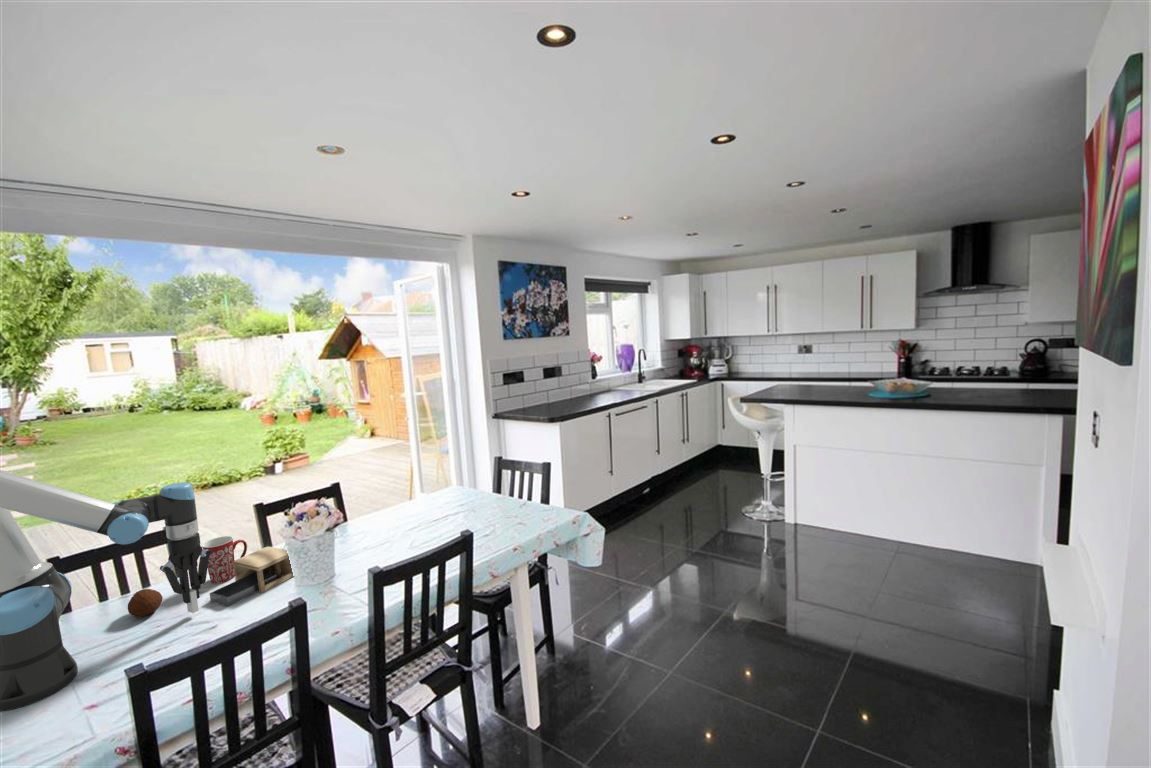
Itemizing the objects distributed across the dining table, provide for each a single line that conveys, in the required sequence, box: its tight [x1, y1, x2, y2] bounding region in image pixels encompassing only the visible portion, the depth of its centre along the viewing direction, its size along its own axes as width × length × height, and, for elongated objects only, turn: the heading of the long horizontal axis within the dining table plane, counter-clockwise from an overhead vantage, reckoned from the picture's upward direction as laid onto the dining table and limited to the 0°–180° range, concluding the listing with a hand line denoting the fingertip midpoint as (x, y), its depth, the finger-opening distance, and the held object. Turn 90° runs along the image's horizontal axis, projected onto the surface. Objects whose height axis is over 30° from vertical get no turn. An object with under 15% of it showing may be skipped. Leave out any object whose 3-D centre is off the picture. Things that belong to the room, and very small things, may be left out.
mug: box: [201, 535, 248, 584], centre depth 176 cm, size 13×9×14 cm
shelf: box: [233, 545, 294, 594], centre depth 172 cm, size 12×13×9 cm
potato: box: [127, 588, 164, 618], centre depth 156 cm, size 8×11×8 cm
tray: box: [209, 571, 277, 607], centre depth 166 cm, size 16×9×3 cm, turn 154°
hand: (193, 610), depth 153 cm, fingers closed
